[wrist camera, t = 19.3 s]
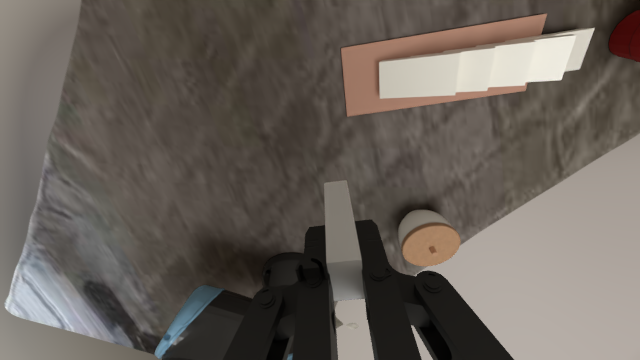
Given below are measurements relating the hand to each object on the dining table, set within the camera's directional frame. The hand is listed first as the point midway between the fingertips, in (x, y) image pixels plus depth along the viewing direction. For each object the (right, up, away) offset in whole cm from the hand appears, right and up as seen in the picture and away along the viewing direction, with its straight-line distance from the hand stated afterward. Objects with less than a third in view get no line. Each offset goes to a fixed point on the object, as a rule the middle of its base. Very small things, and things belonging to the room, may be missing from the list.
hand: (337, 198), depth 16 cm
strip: (+16, +18, +20) cm, 32 cm away
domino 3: (+17, +17, +19) cm, 30 cm away
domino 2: (+12, +17, +19) cm, 28 cm away
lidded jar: (+20, -7, +35) cm, 41 cm away
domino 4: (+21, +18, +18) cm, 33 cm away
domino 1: (+8, +16, +19) cm, 26 cm away
